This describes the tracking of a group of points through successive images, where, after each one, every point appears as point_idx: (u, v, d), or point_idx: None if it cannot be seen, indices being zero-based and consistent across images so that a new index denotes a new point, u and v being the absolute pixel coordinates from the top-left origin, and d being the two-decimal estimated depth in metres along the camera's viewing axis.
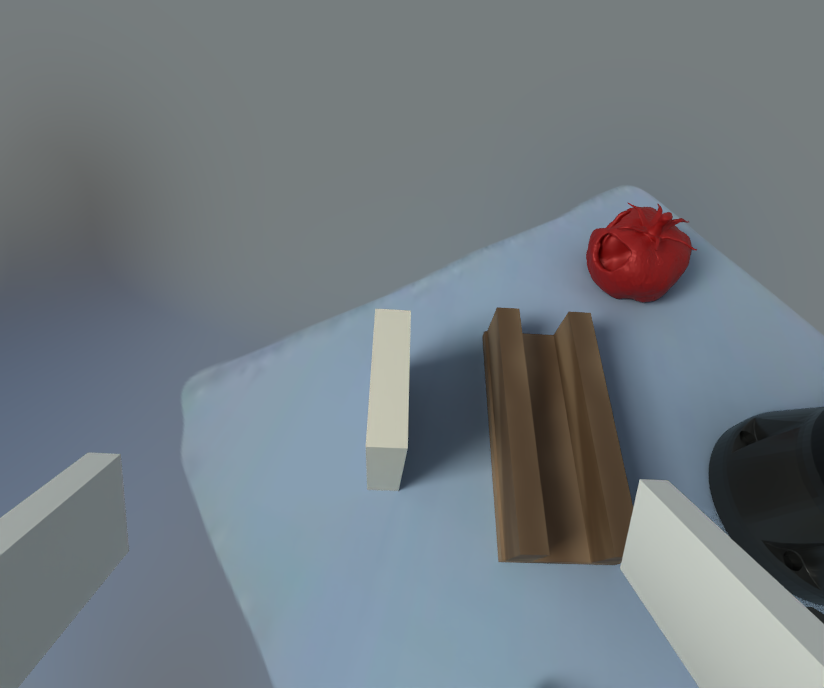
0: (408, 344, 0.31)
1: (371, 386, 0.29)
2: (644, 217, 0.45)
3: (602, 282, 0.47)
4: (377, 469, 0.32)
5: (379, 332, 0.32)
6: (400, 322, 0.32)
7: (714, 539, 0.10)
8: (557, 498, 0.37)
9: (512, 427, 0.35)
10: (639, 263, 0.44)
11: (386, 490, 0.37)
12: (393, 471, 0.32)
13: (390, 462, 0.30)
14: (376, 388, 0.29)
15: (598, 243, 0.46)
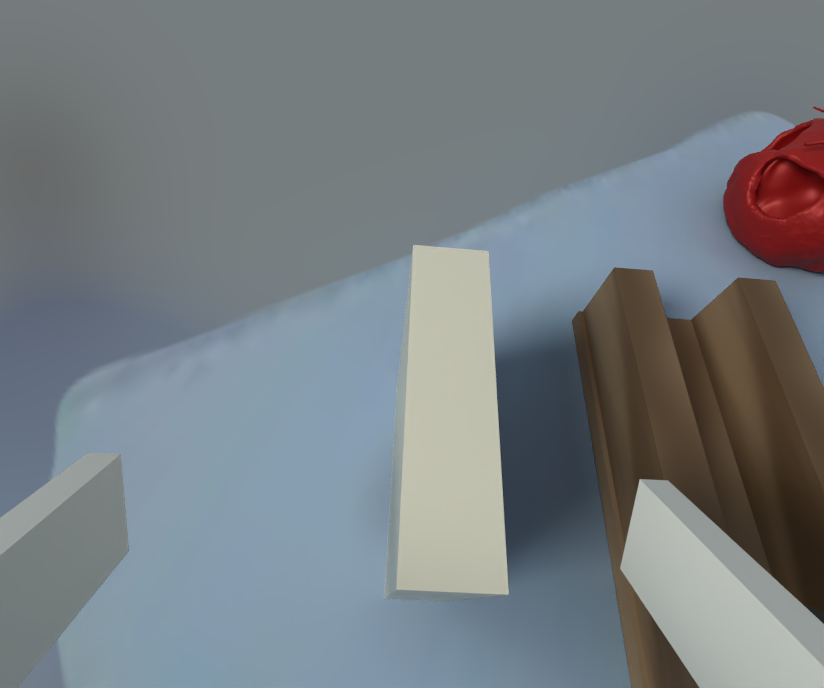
0: (489, 321, 0.14)
1: (408, 419, 0.12)
2: None
3: (760, 238, 0.29)
4: (413, 596, 0.14)
5: (423, 293, 0.14)
6: (468, 274, 0.15)
7: (714, 539, 0.10)
8: None
9: None
10: None
11: None
12: (446, 598, 0.15)
13: (446, 596, 0.13)
14: (420, 423, 0.12)
15: (759, 174, 0.29)
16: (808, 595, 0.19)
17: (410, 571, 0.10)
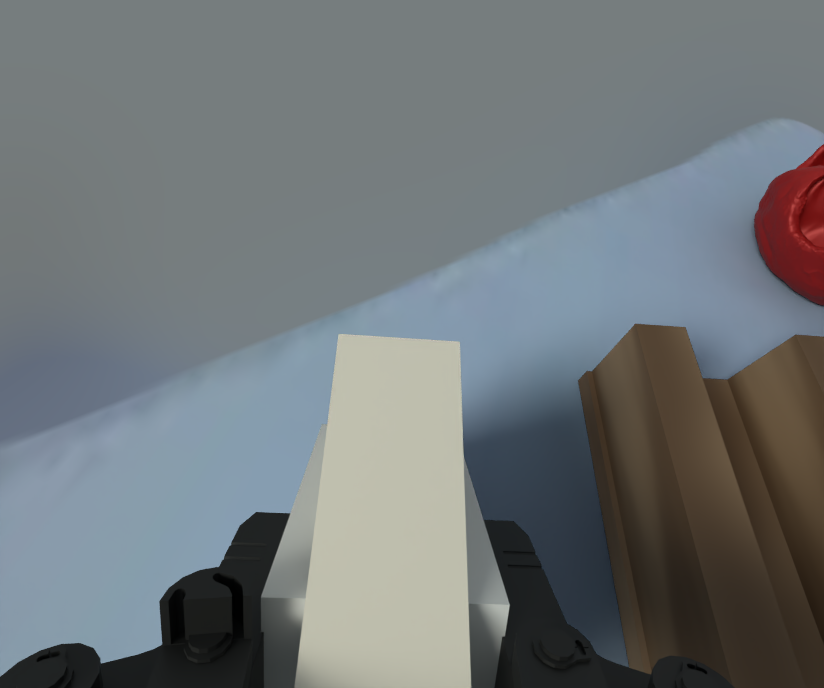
0: (458, 476, 0.08)
1: None
2: None
3: (806, 273, 0.24)
4: None
5: (349, 424, 0.08)
6: (426, 384, 0.09)
7: None
8: None
9: (742, 680, 0.12)
10: None
11: None
12: None
13: None
14: None
15: (804, 196, 0.23)
16: None
17: None
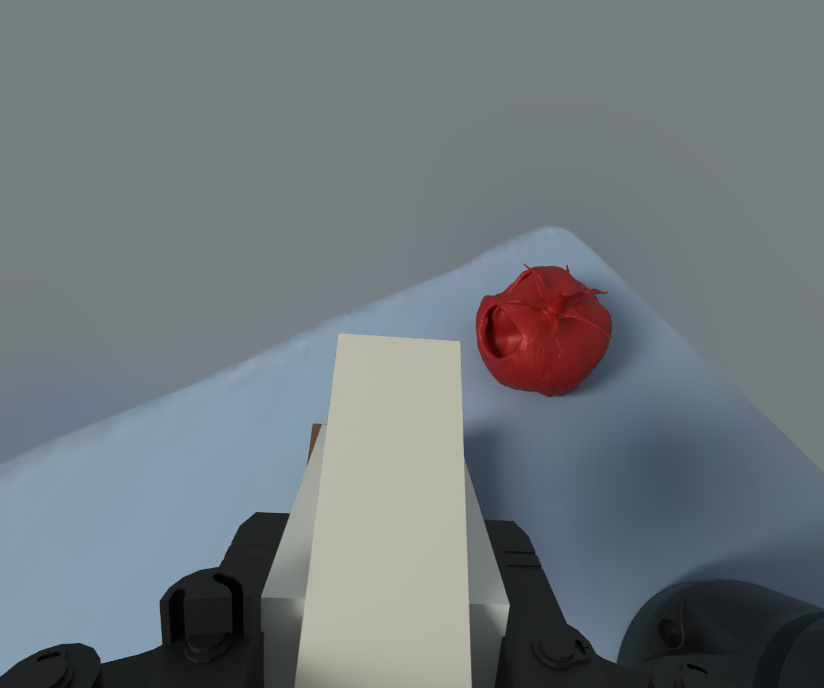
0: (459, 476, 0.08)
1: None
2: (544, 286, 0.32)
3: (491, 370, 0.34)
4: None
5: (349, 424, 0.08)
6: (426, 384, 0.09)
7: None
8: None
9: None
10: (532, 353, 0.31)
11: None
12: None
13: None
14: None
15: (484, 317, 0.34)
16: None
17: None
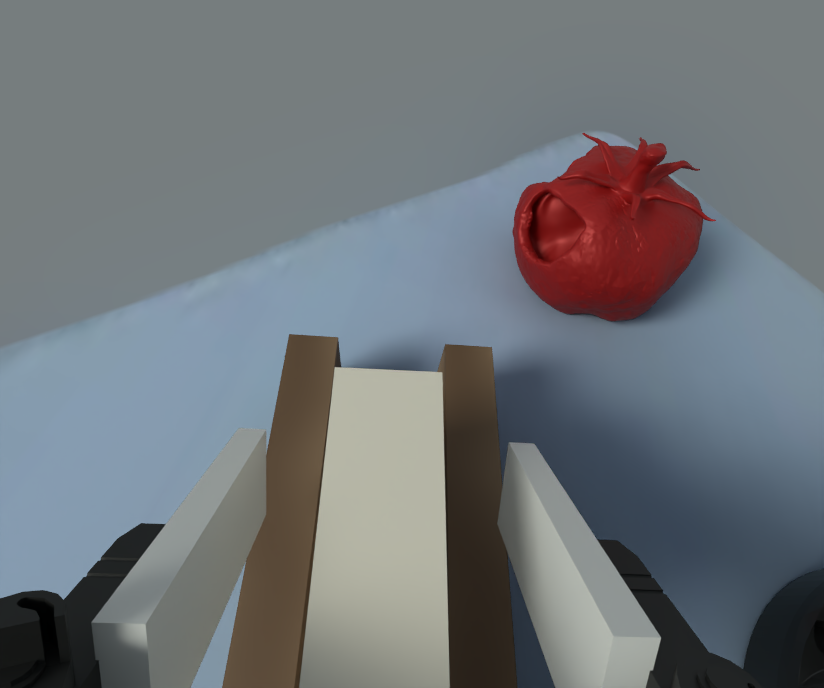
0: (440, 494, 0.09)
1: None
2: (613, 159, 0.23)
3: (536, 283, 0.25)
4: None
5: (344, 449, 0.10)
6: (412, 412, 0.10)
7: (546, 487, 0.11)
8: None
9: (238, 659, 0.13)
10: (600, 246, 0.22)
11: None
12: None
13: None
14: None
15: (528, 210, 0.25)
16: None
17: None
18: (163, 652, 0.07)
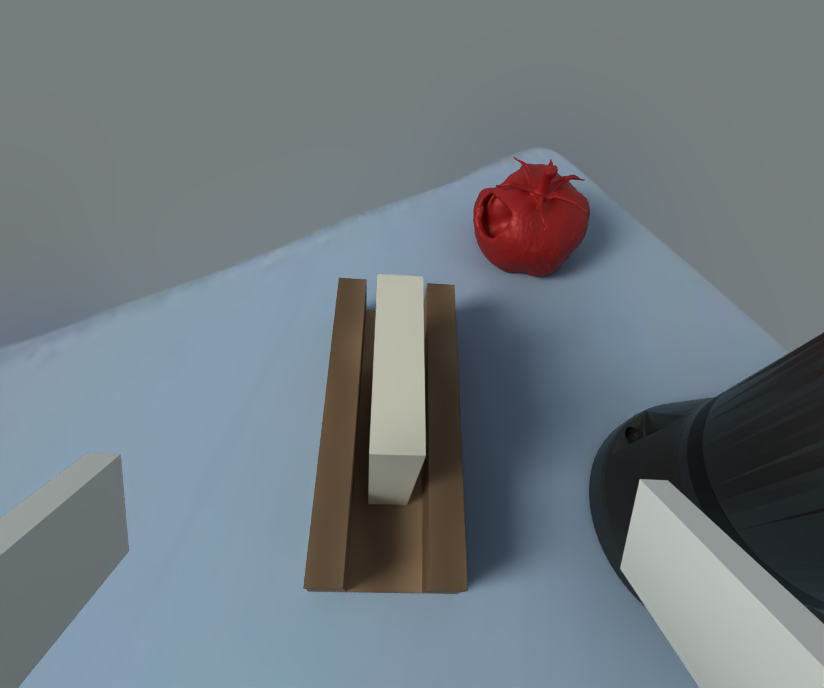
0: (421, 318, 0.24)
1: (374, 373, 0.22)
2: (530, 173, 0.38)
3: (487, 252, 0.40)
4: (383, 481, 0.24)
5: (383, 303, 0.24)
6: (410, 291, 0.25)
7: (714, 539, 0.10)
8: (392, 510, 0.30)
9: (327, 423, 0.28)
10: (521, 227, 0.36)
11: (392, 504, 0.30)
12: (403, 483, 0.25)
13: (400, 473, 0.23)
14: (381, 375, 0.22)
15: (481, 206, 0.39)
16: (424, 488, 0.29)
17: (376, 446, 0.20)
18: None
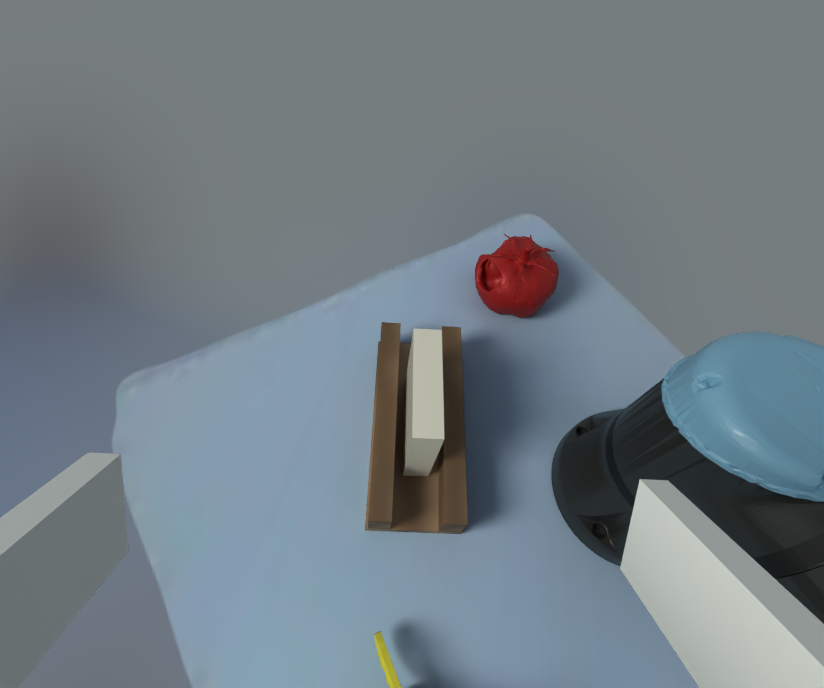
0: (441, 357, 0.39)
1: (414, 391, 0.37)
2: (515, 246, 0.53)
3: (484, 300, 0.55)
4: (416, 457, 0.40)
5: (418, 347, 0.40)
6: (434, 339, 0.40)
7: (714, 539, 0.10)
8: (418, 479, 0.45)
9: (378, 421, 0.43)
10: (508, 286, 0.52)
11: (418, 475, 0.45)
12: (428, 458, 0.40)
13: (427, 451, 0.38)
14: (418, 392, 0.37)
15: (480, 267, 0.55)
16: (440, 464, 0.44)
17: (416, 433, 0.36)
18: None
